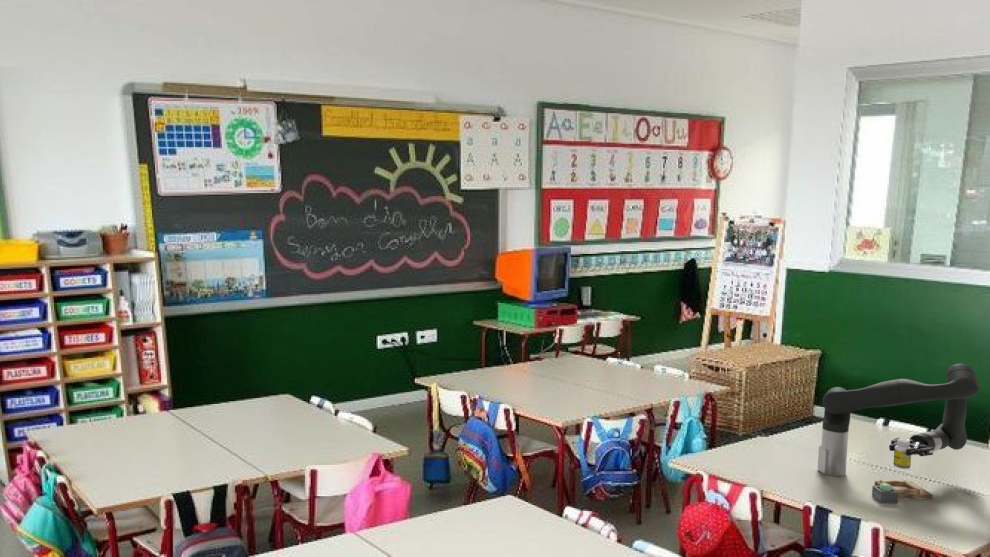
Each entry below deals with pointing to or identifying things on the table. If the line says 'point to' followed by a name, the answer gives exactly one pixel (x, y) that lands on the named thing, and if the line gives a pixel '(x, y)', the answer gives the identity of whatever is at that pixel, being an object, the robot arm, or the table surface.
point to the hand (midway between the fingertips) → (898, 450)
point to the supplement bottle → (902, 454)
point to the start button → (885, 487)
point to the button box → (885, 495)
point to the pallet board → (907, 489)
